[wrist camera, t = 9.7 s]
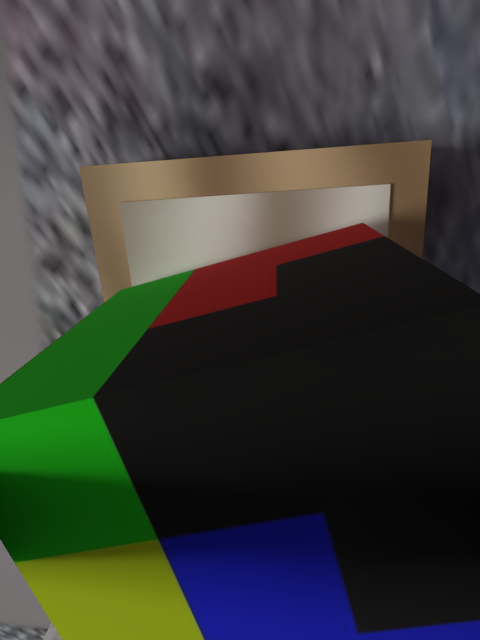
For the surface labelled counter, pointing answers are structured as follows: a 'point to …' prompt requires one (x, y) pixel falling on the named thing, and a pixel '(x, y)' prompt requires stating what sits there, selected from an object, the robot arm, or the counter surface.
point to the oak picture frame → (248, 205)
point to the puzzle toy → (256, 453)
